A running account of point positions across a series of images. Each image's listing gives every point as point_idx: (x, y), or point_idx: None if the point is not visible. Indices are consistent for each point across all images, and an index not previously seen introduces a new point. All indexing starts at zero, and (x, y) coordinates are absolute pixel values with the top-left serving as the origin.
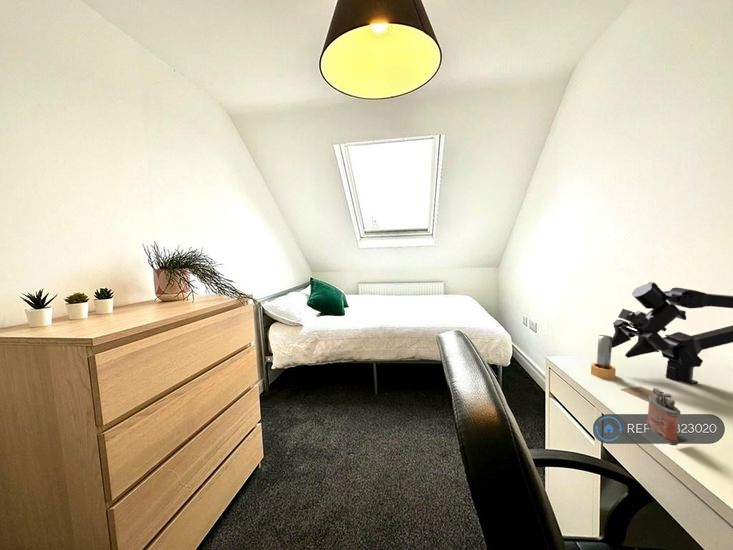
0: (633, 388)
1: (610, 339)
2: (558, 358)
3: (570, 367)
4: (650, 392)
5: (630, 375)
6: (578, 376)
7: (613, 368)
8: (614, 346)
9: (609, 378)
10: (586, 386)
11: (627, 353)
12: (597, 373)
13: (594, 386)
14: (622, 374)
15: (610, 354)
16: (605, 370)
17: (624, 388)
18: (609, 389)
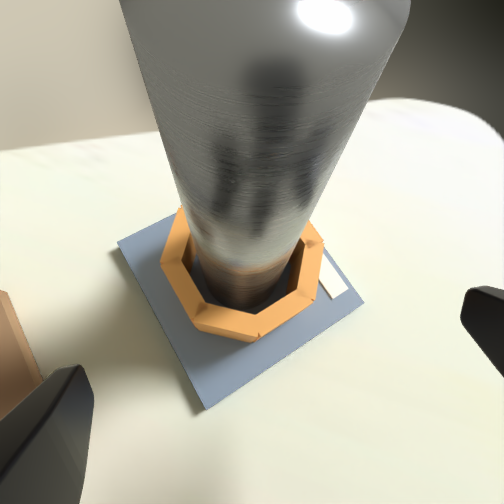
0: (15, 383)
1: (142, 53)
2: (474, 137)
3: (344, 155)
4: None
5: (342, 484)
6: None
7: (214, 313)
8: (501, 366)
9: (172, 288)
10: (65, 152)
11: (35, 391)
12: None
13: (72, 188)
14: (341, 428)
15: (203, 240)
16: (167, 246)
17: (8, 322)
18: (38, 250)
